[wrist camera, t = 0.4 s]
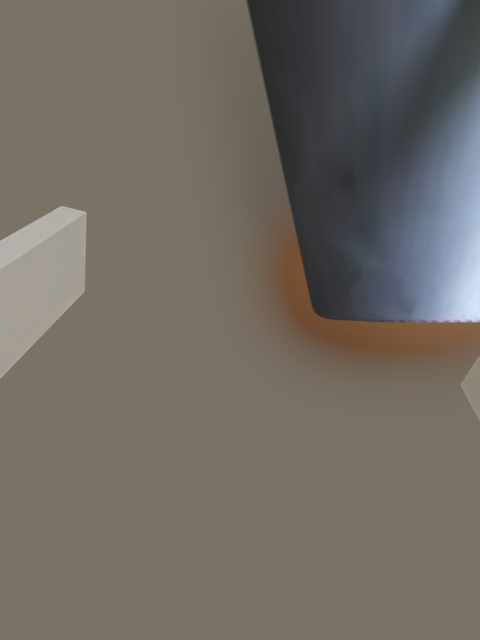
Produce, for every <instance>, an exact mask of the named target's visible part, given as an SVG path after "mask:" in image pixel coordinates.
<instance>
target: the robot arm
mask: <svg viewBox="0 0 480 640" xmlns="http://www.w3.org/2000/svg"><path fill="white" fill-rule="evenodd" d="M86 213H87V212H83V211H80V210H76V209H72V208H68V207H64V206H61V207H59V208H57V209H56V210H54V211H52V212H50V213H49V214H47V215H45V216H43V217H41V218H40V219H38V220H36V221H34V222H33V223H31V224H29V225H27V226H26V227H24V228H22V229H20V230H19V231H17V232H15V233H13V234H12V235H10V236H8V237H6V238H5V239H3V240H1V241H0V378H1V377H2V376H3V375H4V374H5V373H6V372H7V371H8V370H9V369H10V368H11V367H12V366H13V365H14V364H15V363H16V362H17V361H18V360H19V359H20V358H21V357H22V355H24V353H25V352H26V351H27V350H28V349H29V348H30V347H31V346H32V345H33V344H34V343H35V342H36V341H37V340H38V339H39V338H40V337H41V336H42V335H43V334H44V333H45V332H46V331H47V330H48V329H49V328H50V326H51V325H52V324H53V323H54V322H55V321H56V320H57V319H58V318H59V317H60V316H61V315H62V314H63V313H64V312H65V311H66V310H67V309H68V308H69V307H70V306H71V305H72V303H74V301H76V299H77V298H78V297H79V296H80V295H81V294H82V293H83V292H84V291H85V252H86ZM461 387H462V389H463V391H464V393H465V395H466V397H467V399H468V400H469V402H470V404H471V406H472V408H473V410H474V412H475V414H476V415H477V417H478V419H479V421H480V356H479V357H478V359H477V360H476V362H475V363H474V365H473V366H472V368H471V370H470V371H469V373H468V374H467V375H466V377H465V379H464V380H463V382H462V383H461Z"/></svg>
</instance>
